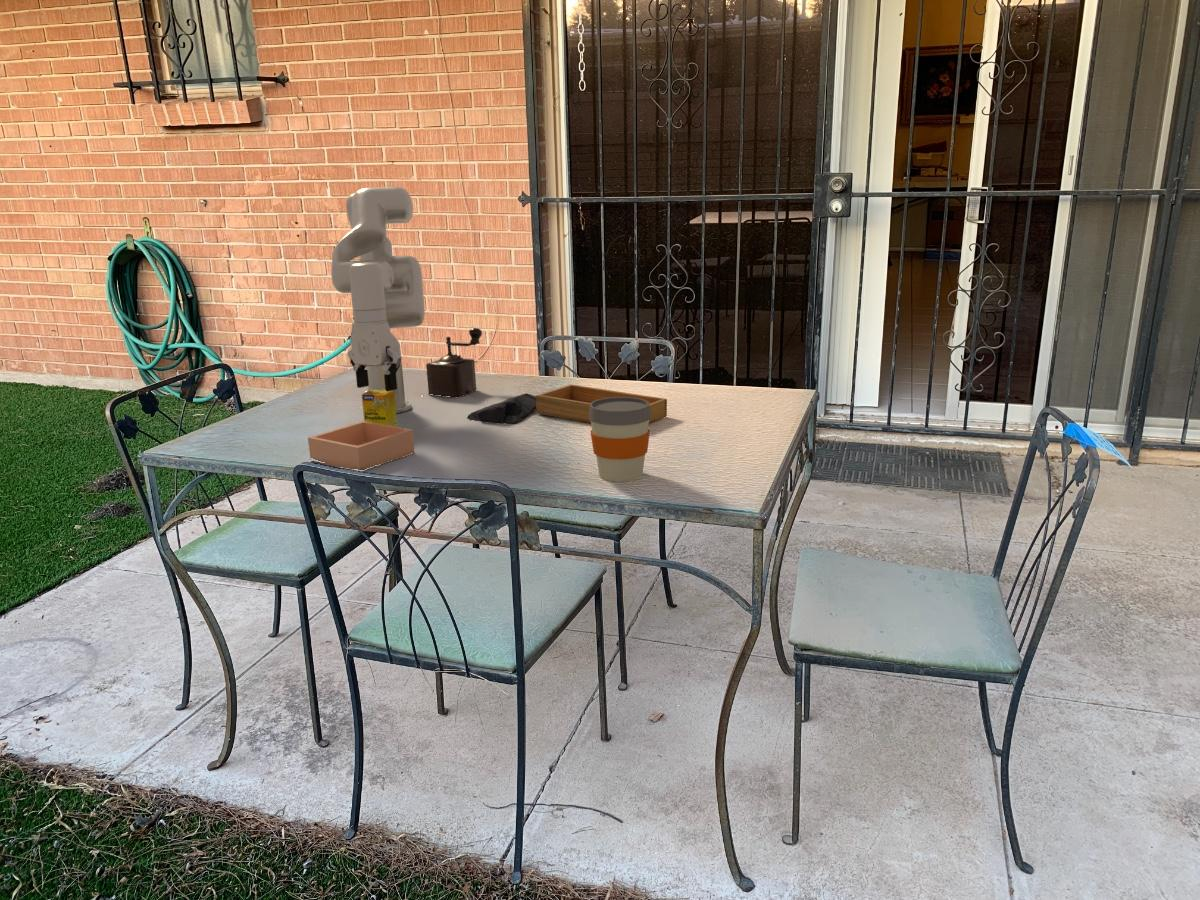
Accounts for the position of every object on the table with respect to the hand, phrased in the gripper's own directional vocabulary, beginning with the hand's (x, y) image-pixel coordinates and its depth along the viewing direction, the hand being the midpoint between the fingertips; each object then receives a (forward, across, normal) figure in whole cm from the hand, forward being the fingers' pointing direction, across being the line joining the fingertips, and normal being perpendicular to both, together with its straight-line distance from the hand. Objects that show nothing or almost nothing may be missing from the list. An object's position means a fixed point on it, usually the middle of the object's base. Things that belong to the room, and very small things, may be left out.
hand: (377, 388), depth 209 cm
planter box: (+12, +9, -14) cm, 21 cm away
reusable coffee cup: (+13, +66, +4) cm, 68 cm away
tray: (+12, +36, +42) cm, 57 cm away
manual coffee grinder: (+11, -17, +46) cm, 50 cm away
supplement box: (+12, -1, +1) cm, 12 cm away
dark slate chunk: (+12, +13, +33) cm, 37 cm away
